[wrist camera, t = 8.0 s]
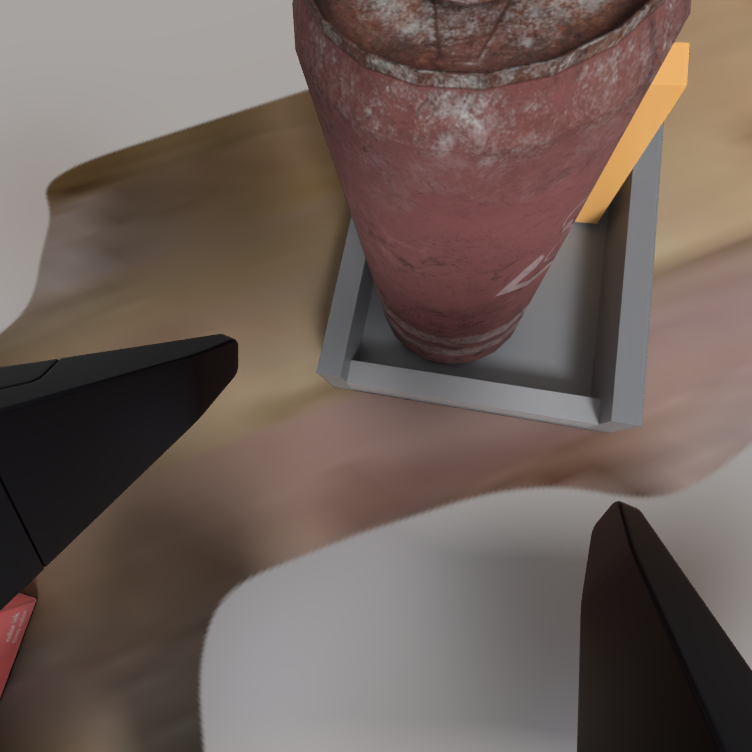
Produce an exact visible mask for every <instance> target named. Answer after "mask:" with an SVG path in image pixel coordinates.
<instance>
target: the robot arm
mask: <svg viewBox="0 0 752 752" xmlns="http://www.w3.org/2000/svg"><path fill="white" fill-rule="evenodd" d="M237 370H238V343H237V341H236V340H235V339H233V338H231V337H228V336H226V335H223V334H217V335H211V336H204V337H198V338H191V339H185V340H178V341H172V342H165V343H159V344H152V345H146V346H139V347H133V348H126V349H120V350H113V351H107V352H100V353H94V354H87V355H81V356H74V357H68V358H61V359H60V360H58V359H54V360H48V361H41V362H34V363H27V364H20V365H13V366H6V367H0V611H1V610H2V609H3V608H4V607H5V606H6V605H7V604H8V603H9V602H10V601H11V600H12V599H13V598H14V597H15V596H16V595H17V594H18V593H19V592H20V591H21V590H23V589H24V588H25V587H26V586H27V585H28V584H29V583H30V582H31V581H32V580H33V579H34V578H35V577H36V576H37V575H38V574H39V573H40V572H41V571H42V570H43V569H44V567H46V566H47V565H48V564H49V563H50V562H51V561H52V560H53V559H54V558H55V557H56V556H57V555H59V554H60V553H61V552H62V551H63V550H64V549H65V548H66V547H67V546H68V545H69V544H70V543H71V542H72V541H73V540H74V539H75V538H76V537H77V536H78V535H79V534H80V533H81V532H82V531H83V530H84V529H86V528H87V527H88V526H89V525H90V524H91V523H92V522H93V521H94V520H95V519H96V518H97V517H98V516H99V515H100V514H101V513H102V512H103V511H104V510H105V509H106V508H107V507H108V506H109V505H110V504H111V503H112V502H114V501H115V500H116V499H117V498H118V497H119V496H120V495H121V494H122V493H123V492H124V491H125V490H126V489H127V488H128V487H129V486H130V485H131V484H132V483H133V482H134V481H135V480H136V479H137V478H138V477H139V476H141V475H142V474H143V473H144V472H145V471H146V470H147V469H148V468H149V467H150V466H151V465H152V464H153V463H154V462H155V461H156V460H157V459H158V458H159V457H160V456H161V455H162V454H163V453H164V452H165V451H166V450H167V449H169V448H170V447H171V446H172V445H173V444H174V443H175V442H176V441H177V440H178V439H179V438H180V437H181V436H182V435H183V434H184V433H185V432H186V431H187V430H188V429H189V428H190V427H191V426H192V425H193V424H194V423H195V422H196V421H197V420H198V419H199V418H200V417H201V416H202V415H203V414H204V412H205V411H206V410H207V409H208V408H209V406H210V405H211V404H212V403H213V402H214V401H215V399H216V398H217V397H218V396H219V395H220V393H221V392H222V391H223V390H224V389H225V387H226V386H227V385H228V384H229V383H230V381H231V380H232V379H233V378H234V376H235V375H236V373H237ZM577 752H752V670H751V669H750V667H749V666H748V664H747V663H746V662H745V660H744V659H743V657H742V656H741V654H740V653H739V651H738V650H737V649H736V647H735V646H734V644H733V643H732V642H731V640H730V639H729V637H728V636H727V634H726V633H725V631H724V630H723V629H722V627H721V626H720V624H719V623H718V621H717V620H716V618H715V617H714V616H713V614H712V613H711V611H710V610H709V608H708V607H707V606H706V604H705V603H704V601H703V600H702V599H701V597H700V596H699V594H698V593H697V591H696V590H695V588H694V587H693V585H692V584H691V583H690V581H689V580H688V578H687V577H686V576H685V574H684V573H683V571H682V570H681V568H680V567H679V566H678V564H677V563H676V561H675V560H674V558H673V557H672V555H671V554H670V553H669V551H668V550H667V548H666V547H665V545H664V544H663V542H662V541H661V540H660V538H659V537H658V535H657V534H656V532H655V531H654V530H653V528H652V527H651V525H650V524H649V522H648V521H647V520H646V518H645V517H644V515H643V514H642V512H641V511H640V510H639V509H637V508H635V507H633V506H630V505H628V504H625V503H623V502H621V501H617V502H615V503H613V504H612V505H611V506H610V508H609V509H608V510H607V511H606V512H605V514H604V515H603V516H602V517H601V519H600V520H599V521H598V522H597V523H596V525H595V526H594V529H593V531H592V535H591V541H590V548H589V554H588V561H587V567H586V573H585V580H584V587H583V593H582V601H581V616H580V653H579V693H578V730H577Z"/></svg>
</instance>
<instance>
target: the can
mask: <svg viewBox="0 0 752 752" xmlns="http://www.w3.org/2000/svg"><path fill="white" fill-rule="evenodd" d="M690 9H691V0H293V19H294V33H295V49H296V52H297V55H298V58H299V61H300V64H301V67H302V70H303V73H304V76H305V79H306V82H307V85H308V88H309V91H310V94H311V97H312V100H313V103H314V106H315V109H316V112H317V115H318V118H319V121H320V124H321V127H322V130H323V133H324V136H325V138H326V141H327V144H328V147H329V150H330V153H331V156H332V159H333V162H334V165H335V168H336V171H337V174H338V177H339V180H340V183H341V186H342V189H343V192H344V195H345V198H346V201H347V204H348V207H349V210H350V213H351V216H352V219H353V222H354V225H355V228H356V230H357V233H358V236H359V239H360V242H361V245H362V248H363V251H364V254H365V257H366V260H367V263H368V266H369V269H370V272H371V275H372V278H373V281H374V284H375V287H376V290H377V293H378V296H379V299H380V302H381V305H382V308H383V311H384V314H385V317H386V319H387V321H388V323H389V325H390V327H391V329H392V331H393V334H394V336H395V337H396V338H397V339H398V340H399V341H400V342H401V343H402V344H403V345H404V346H405V347H406V348H407V349H408V350H409V351H411V352H413V353H415V354H417V355H419V356H421V357H423V358H425V359H426V360H428V361H434V362H439V363H445V364H459V363H466V362H474V361H476V360H478V359H480V358H482V357H485V356H487V355H489V354H491V353H493V352H495V351H496V350H497V349H498V348H499V347H500V346H502V345H503V344H504V343H505V342H506V341H507V340H508V339H509V338H510V337H511V336H512V334H513V332H514V330H515V329H516V327H517V325H518V323H519V321H520V320H521V318H522V316H523V314H524V312H525V311H526V309H527V307H528V305H529V303H530V302H531V300H532V298H533V296H534V294H535V293H536V291H537V289H538V287H539V285H540V283H541V282H542V280H543V278H544V276H545V274H546V273H547V271H548V269H549V267H550V265H551V264H552V262H553V260H554V258H555V256H556V255H557V253H558V251H559V249H560V247H561V246H562V244H563V242H564V240H565V238H566V237H567V235H568V233H569V231H570V229H571V228H572V226H573V224H574V222H575V220H576V219H577V217H578V215H579V213H580V211H581V210H582V208H583V206H584V204H585V202H586V201H587V199H588V197H589V195H590V193H591V192H592V190H593V188H594V186H595V184H596V183H597V181H598V179H599V177H600V175H601V174H602V172H603V170H604V168H605V166H606V165H607V163H608V161H609V159H610V157H611V156H612V154H613V152H614V150H615V148H616V147H617V145H618V143H619V141H620V139H621V138H622V136H623V134H624V132H625V130H626V129H627V127H628V125H629V123H630V121H631V119H632V118H633V116H634V114H635V112H636V110H637V109H638V107H639V105H640V103H641V101H642V100H643V98H644V96H645V94H646V92H647V91H648V89H649V87H650V85H651V83H652V82H653V80H654V78H655V76H656V74H657V73H658V71H659V69H660V67H661V65H662V64H663V62H664V60H665V58H666V56H667V54H668V53H669V51H670V49H671V47H672V45H673V43H674V42H675V40H676V38H677V36H678V34H679V33H680V31H681V29H682V27H683V25H684V23H685V22H686V20H687V18H688V16H689V14H690Z"/></svg>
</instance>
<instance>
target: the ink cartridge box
mask: <svg viewBox="0 0 752 752" xmlns="http://www.w3.org/2000/svg"><path fill="white" fill-rule="evenodd" d="M35 603H36V599H35V598H34V597H29V596H27V595H24V594H22V593H18V594H17V595H16V596H15V597H14V598H13V599H12V600H11V601H10V602H9V603H8V604H7V605H6V606H5V607H4V608H3V609H2V610H1V611H0V698H1V695H2V692H3V689H4V687H5V684H6V682H7V679H8V676H9V672H10V670H11V667H12V665H13V662H14V660H15V657H16V654H17V652H18V649H19V646H20V643H21V640H22V638H23V635H24V632H25V629H26V627H27V624H28V622H29V619H30V616H31V613H32V611H33V609H34V605H35Z"/></svg>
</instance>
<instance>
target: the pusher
mask: <svg viewBox="0 0 752 752" xmlns="http://www.w3.org/2000/svg"><path fill="white" fill-rule="evenodd" d="M688 58H689V43H675V42H674V43H673V45H672V47H671V49H670V51H669V53H668V54H667V56H666V58H665V60H664V62H663V64H662V65H661V67H660V69H659V71H658V73H657V74H656V76H655V78H654V80H653V82H652V83H651V85H650V87H649V89H648V91H647V92H646V94H645V96H644V98H643V100H642V101H641V103H640V105H639V107H638V109H637V110H636V112H635V114H634V116H633V118H632V119H631V121H630V123H629V125H628V127H627V129H626V130H625V132H624V134H623V136H622V138H621V139H620V141H619V143H618V145H617V147H616V148H615V150H614V152H613V154H612V156H611V157H610V159H609V161H608V163H607V165H606V166H605V168H604V170H603V172H602V174H601V175H600V177H599V179H598V181H597V183H596V184H595V186H594V188H593V190H592V192H591V193H590V195H589V197H588V199H587V201H586V202H585V204H584V206H583V208H582V210H581V211H580V213H579V215H578V217H577V219H576V220H575V222H582V223H593V224H597V223H598V221H599V220H600V218H601V217H602V215H603V214H604V212H605V210H606V209H607V207H608V206H609V204H610V203H611V201H612V200H613V198H614V197H615V195H616V194H617V192H618V191H619V189H620V187H621V186H622V184H623V183H624V181H625V180H626V178H627V177H628V175H629V174H630V172H631V171H632V169H633V168H634V166H635V164H636V163H637V161H638V160H639V158H640V157H641V155H642V154H643V152H644V151H645V149H646V148H647V146H648V144H649V143H650V141H651V140H652V138H653V137H654V135H655V134H656V132H657V131H658V129H659V128H660V126H661V125H662V123H663V121H664V120H665V118H666V117H667V115H668V114H669V112H670V111H671V109H672V108H673V106H674V105H675V103H676V101H677V100H678V98H679V97H680V95H681V94H682V92H683V91H684V89H685V88H686V86H687V75H688Z"/></svg>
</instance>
